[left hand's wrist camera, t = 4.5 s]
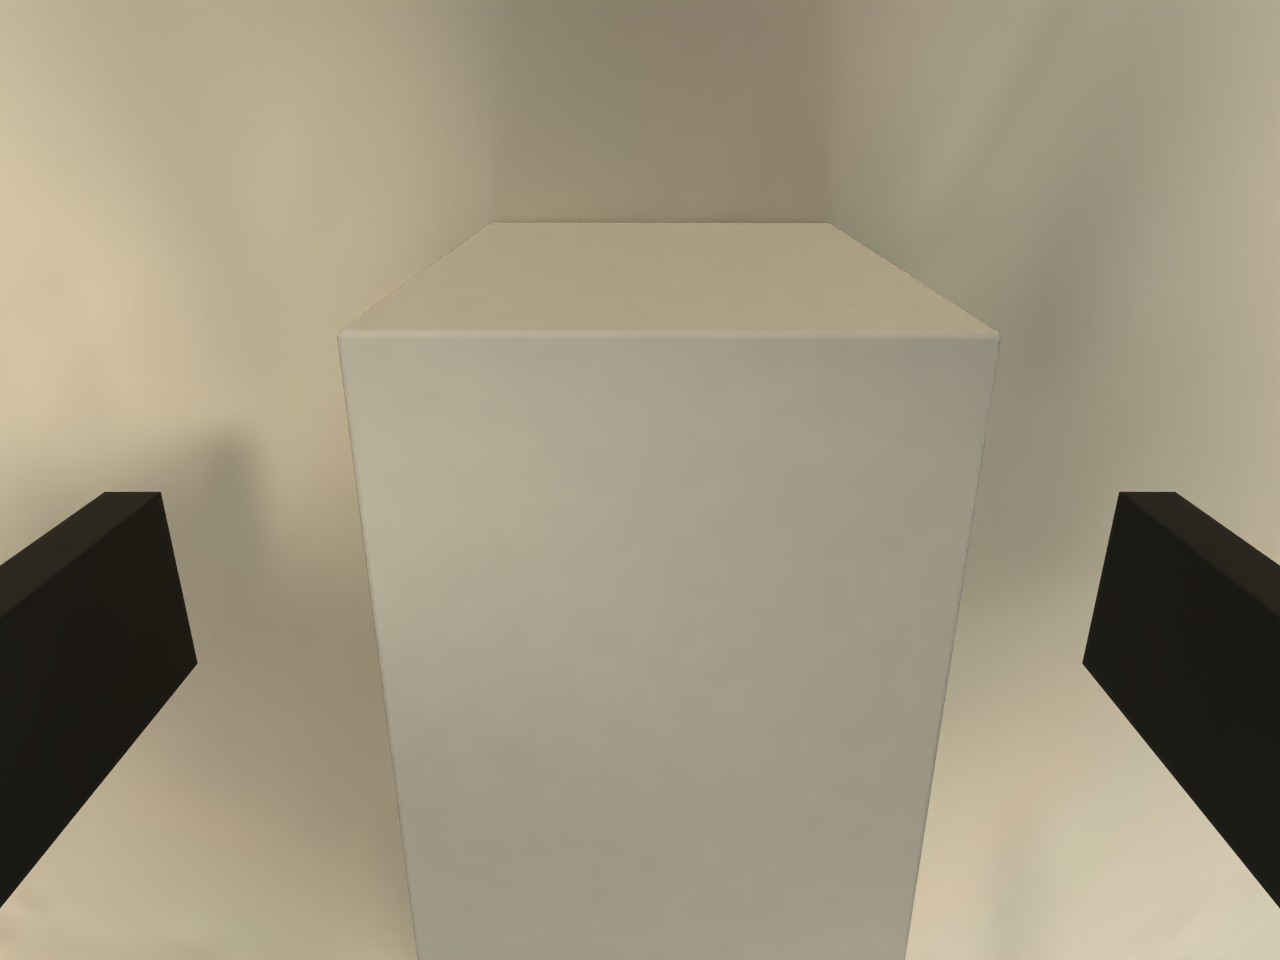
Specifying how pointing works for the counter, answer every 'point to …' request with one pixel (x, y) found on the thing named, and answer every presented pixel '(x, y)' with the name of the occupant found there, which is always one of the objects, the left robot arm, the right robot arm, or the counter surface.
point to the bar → (665, 584)
